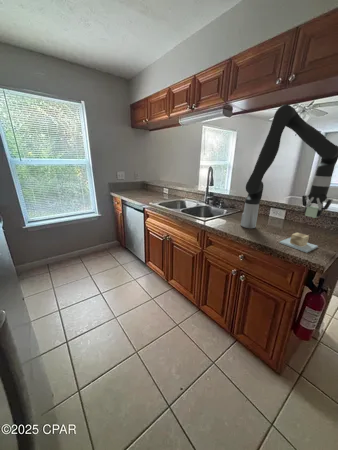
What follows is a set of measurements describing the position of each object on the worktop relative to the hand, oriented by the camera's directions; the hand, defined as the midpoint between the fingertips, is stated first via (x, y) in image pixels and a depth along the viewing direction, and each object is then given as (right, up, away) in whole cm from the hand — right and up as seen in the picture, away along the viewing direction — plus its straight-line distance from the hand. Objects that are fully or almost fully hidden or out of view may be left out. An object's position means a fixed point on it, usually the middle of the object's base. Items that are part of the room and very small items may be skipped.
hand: (312, 215), depth 105 cm
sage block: (0, -1, 0) cm, 1 cm away
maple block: (-9, -16, -1) cm, 18 cm away
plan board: (-9, -17, -1) cm, 19 cm away
